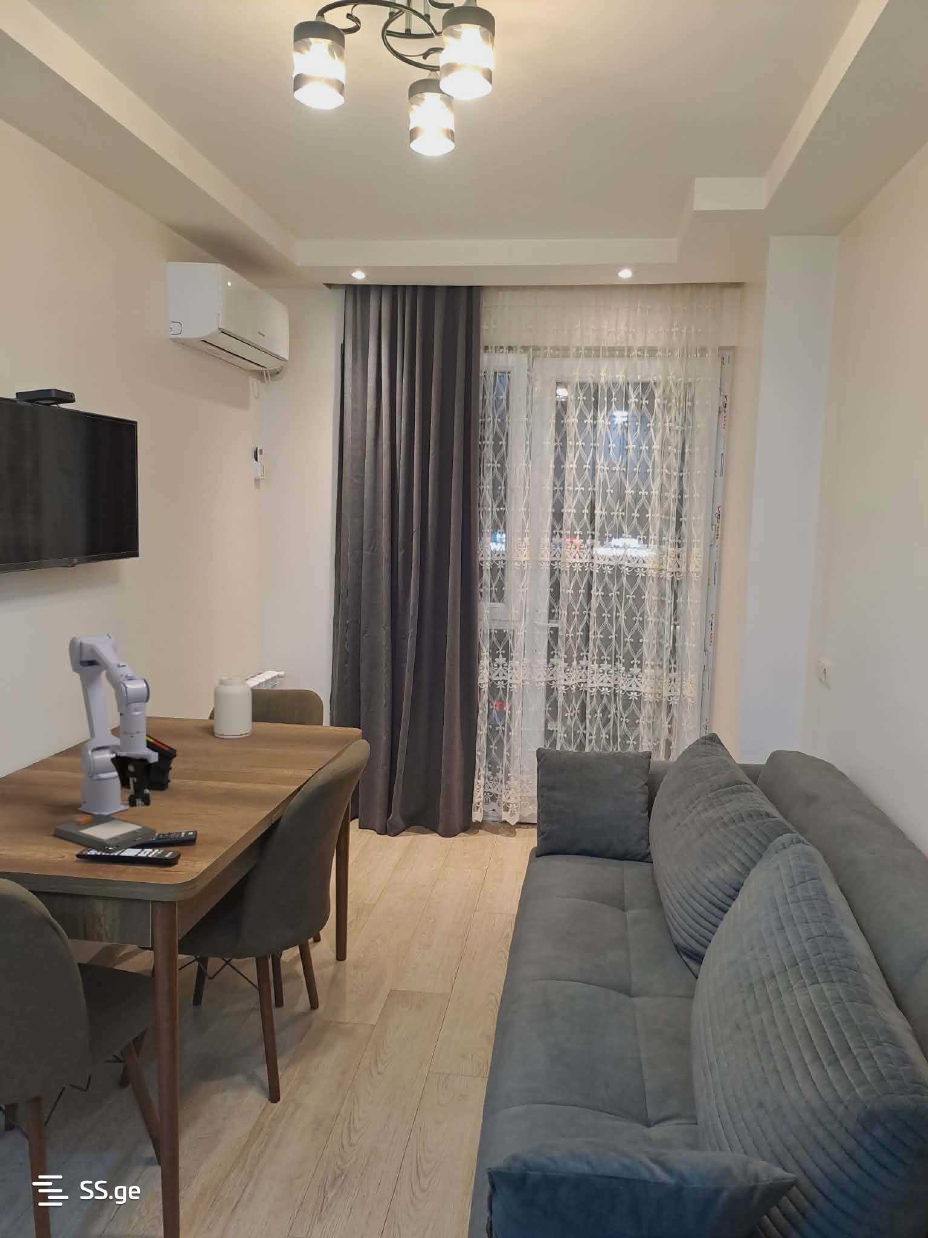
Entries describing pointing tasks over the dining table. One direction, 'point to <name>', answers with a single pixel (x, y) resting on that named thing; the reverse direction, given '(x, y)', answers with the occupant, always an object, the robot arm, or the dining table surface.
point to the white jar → (232, 707)
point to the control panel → (105, 832)
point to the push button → (136, 791)
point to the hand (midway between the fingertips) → (133, 787)
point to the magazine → (159, 764)
